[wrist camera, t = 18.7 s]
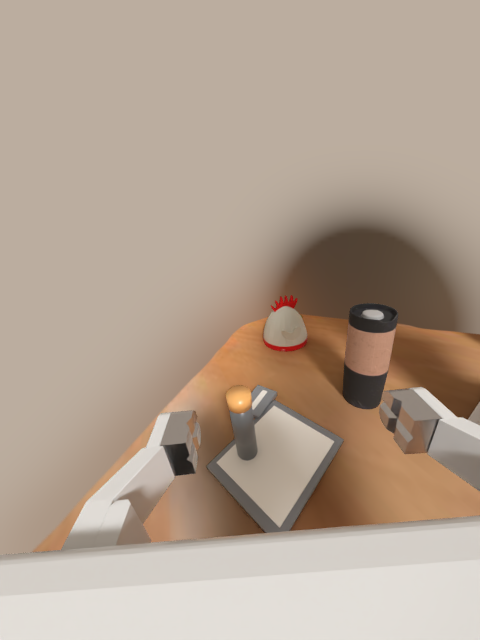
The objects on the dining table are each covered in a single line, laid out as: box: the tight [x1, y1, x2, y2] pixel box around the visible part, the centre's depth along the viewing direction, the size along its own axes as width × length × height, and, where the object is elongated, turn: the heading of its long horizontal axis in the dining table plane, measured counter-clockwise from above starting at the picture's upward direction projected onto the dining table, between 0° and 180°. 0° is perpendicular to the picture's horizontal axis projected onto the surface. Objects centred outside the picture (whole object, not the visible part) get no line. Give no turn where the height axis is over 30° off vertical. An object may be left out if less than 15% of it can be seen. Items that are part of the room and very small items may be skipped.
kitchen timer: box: [263, 295, 307, 351], centre depth 70 cm, size 14×14×15 cm
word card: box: [251, 385, 277, 419], centre depth 50 cm, size 8×5×1 cm, turn 145°
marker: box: [226, 385, 258, 461], centre depth 37 cm, size 4×4×13 cm
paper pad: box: [206, 400, 344, 533], centre depth 39 cm, size 19×15×1 cm
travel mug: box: [343, 303, 398, 409], centre depth 44 cm, size 8×8×20 cm
